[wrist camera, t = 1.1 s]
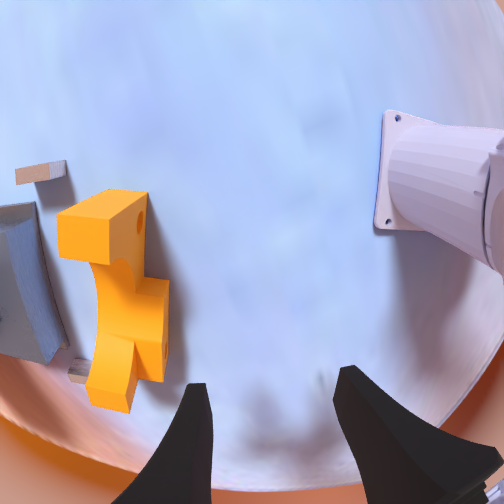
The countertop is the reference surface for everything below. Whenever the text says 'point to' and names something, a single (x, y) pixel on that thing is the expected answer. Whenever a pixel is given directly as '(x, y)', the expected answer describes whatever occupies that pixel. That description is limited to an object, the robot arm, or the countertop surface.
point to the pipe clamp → (119, 294)
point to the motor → (30, 283)
